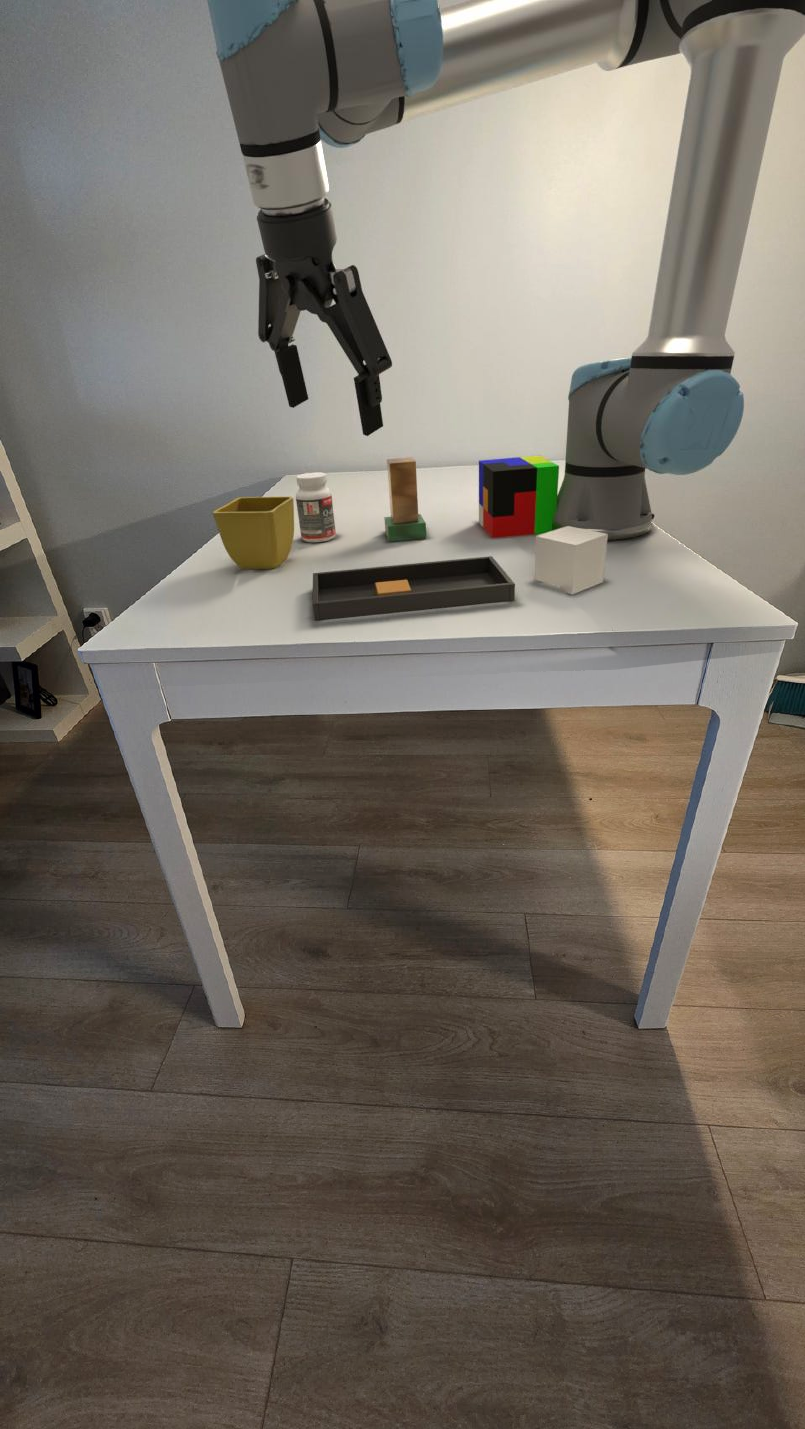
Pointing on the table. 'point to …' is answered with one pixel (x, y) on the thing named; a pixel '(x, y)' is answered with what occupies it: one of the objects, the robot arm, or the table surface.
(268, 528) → the flower pot
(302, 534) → the pill bottle
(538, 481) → the puzzle toy
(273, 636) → the table surface
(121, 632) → the table surface
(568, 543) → the beige cube
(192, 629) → the table surface
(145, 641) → the table surface
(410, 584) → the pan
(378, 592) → the orange flat block
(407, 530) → the stacked blocks
